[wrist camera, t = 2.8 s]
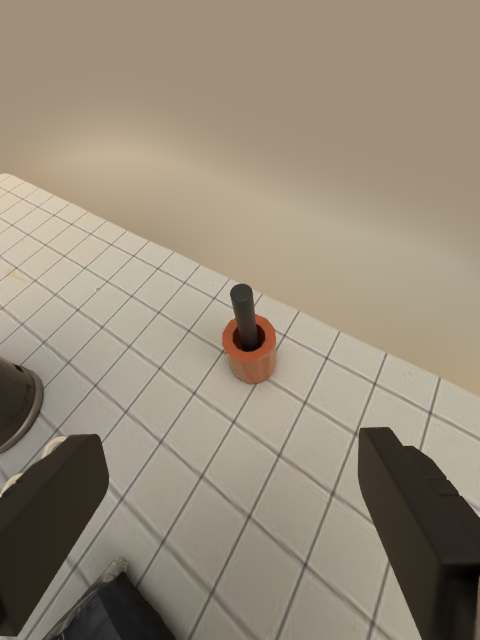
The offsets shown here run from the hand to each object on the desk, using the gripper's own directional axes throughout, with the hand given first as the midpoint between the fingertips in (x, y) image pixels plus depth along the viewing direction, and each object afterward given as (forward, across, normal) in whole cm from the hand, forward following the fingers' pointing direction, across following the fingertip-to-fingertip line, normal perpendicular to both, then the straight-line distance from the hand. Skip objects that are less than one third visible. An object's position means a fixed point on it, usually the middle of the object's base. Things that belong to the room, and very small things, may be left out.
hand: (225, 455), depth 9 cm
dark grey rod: (+20, 0, +5) cm, 20 cm away
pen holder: (+20, 0, +6) cm, 21 cm away
